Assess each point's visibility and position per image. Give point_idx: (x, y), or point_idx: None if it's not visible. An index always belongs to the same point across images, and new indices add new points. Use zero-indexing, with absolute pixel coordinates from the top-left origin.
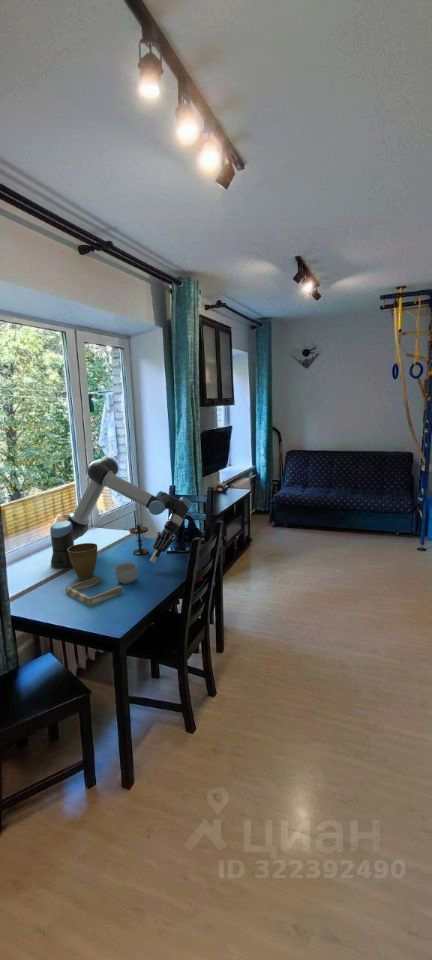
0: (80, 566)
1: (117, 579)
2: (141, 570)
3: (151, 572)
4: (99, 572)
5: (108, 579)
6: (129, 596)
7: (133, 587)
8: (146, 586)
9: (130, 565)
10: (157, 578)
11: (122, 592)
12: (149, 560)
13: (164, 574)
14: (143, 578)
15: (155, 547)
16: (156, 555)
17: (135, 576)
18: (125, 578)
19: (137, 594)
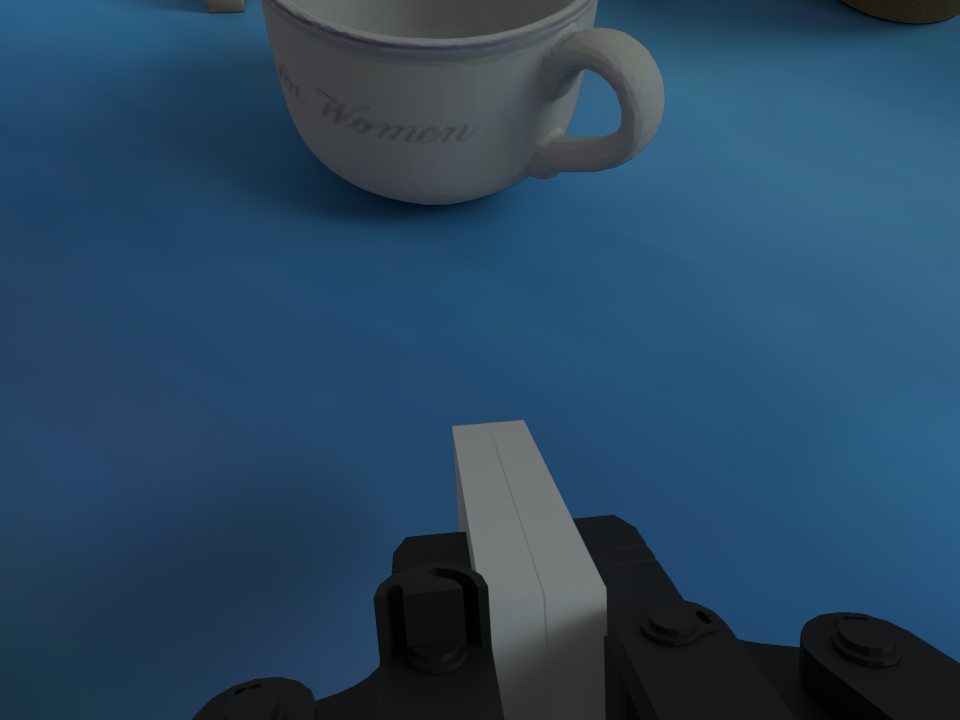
0: None
1: (449, 11)
2: (661, 441)
3: (444, 508)
4: (947, 84)
5: (655, 61)
6: (73, 10)
7: (213, 111)
8: (83, 201)
9: (516, 64)
10: (138, 431)
11: (209, 7)
12: (521, 425)
13: (152, 622)
14: (337, 300)
15: (728, 651)
16: (411, 547)
17: (290, 114)
18: (323, 9)
19: (25, 62)
